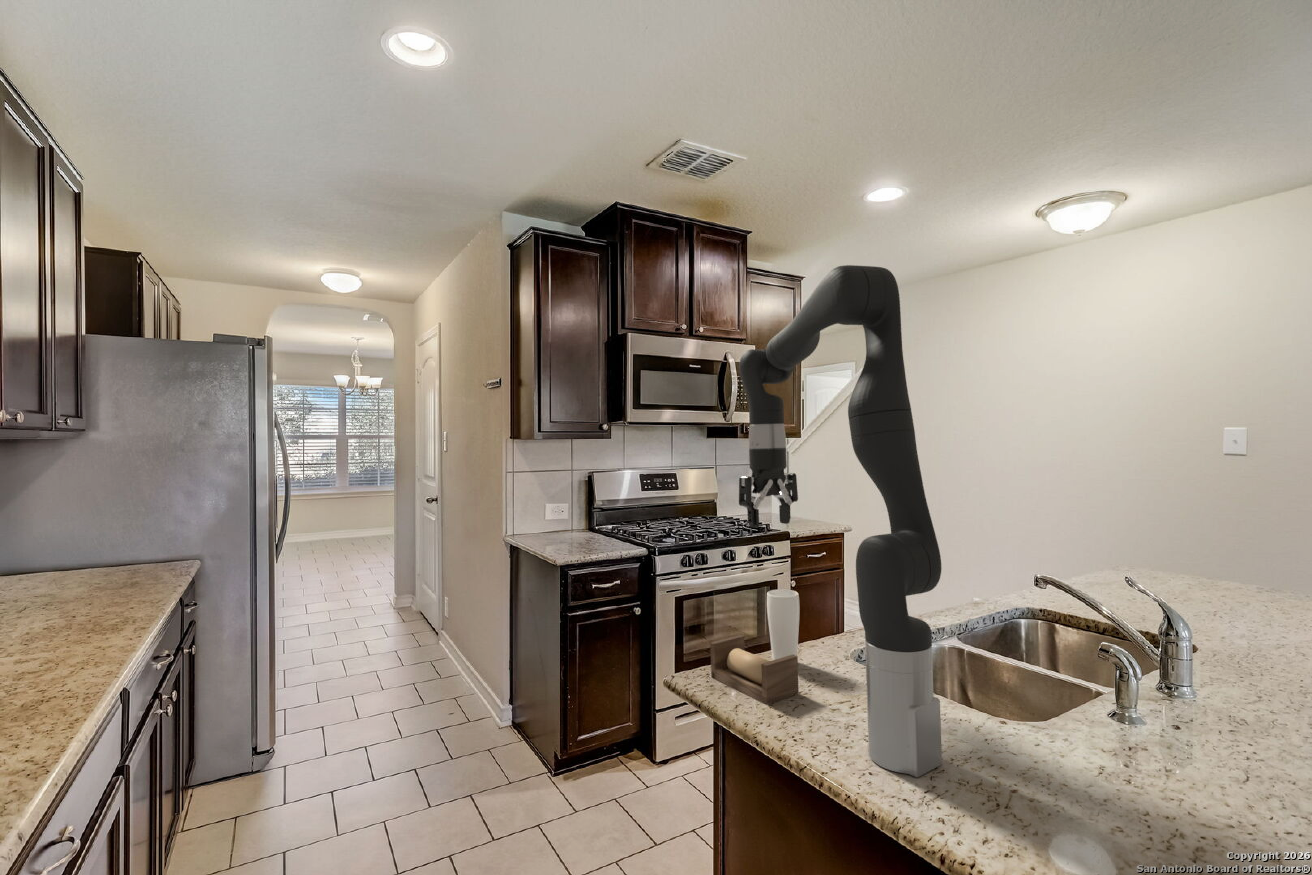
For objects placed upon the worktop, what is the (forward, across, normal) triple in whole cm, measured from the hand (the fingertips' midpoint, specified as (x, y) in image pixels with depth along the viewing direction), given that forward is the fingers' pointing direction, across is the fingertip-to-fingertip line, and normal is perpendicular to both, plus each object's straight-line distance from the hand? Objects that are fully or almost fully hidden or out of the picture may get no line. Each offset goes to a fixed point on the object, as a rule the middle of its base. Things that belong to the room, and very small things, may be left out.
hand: (769, 525), depth 126 cm
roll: (+29, -8, -2) cm, 30 cm away
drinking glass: (+30, +5, +2) cm, 31 cm away
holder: (+30, -8, -2) cm, 31 cm away
